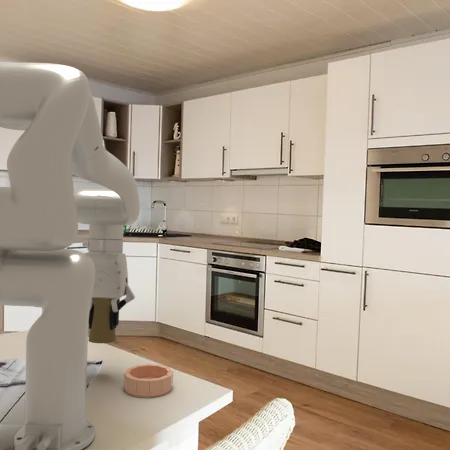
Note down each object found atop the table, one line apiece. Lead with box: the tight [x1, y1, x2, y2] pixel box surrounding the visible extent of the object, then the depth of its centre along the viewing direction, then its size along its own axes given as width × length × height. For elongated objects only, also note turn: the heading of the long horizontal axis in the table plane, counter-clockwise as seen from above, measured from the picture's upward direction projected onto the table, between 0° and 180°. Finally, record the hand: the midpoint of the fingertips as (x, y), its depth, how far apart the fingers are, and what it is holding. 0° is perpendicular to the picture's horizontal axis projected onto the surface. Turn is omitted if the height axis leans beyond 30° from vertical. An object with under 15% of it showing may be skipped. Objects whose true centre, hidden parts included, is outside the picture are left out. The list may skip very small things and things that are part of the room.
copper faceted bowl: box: [123, 363, 174, 399], centre depth 102 cm, size 10×10×4 cm
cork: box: [88, 298, 117, 344], centre depth 107 cm, size 6×6×11 cm
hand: (102, 327), depth 107 cm, fingers closed on cork, 4 cm apart
